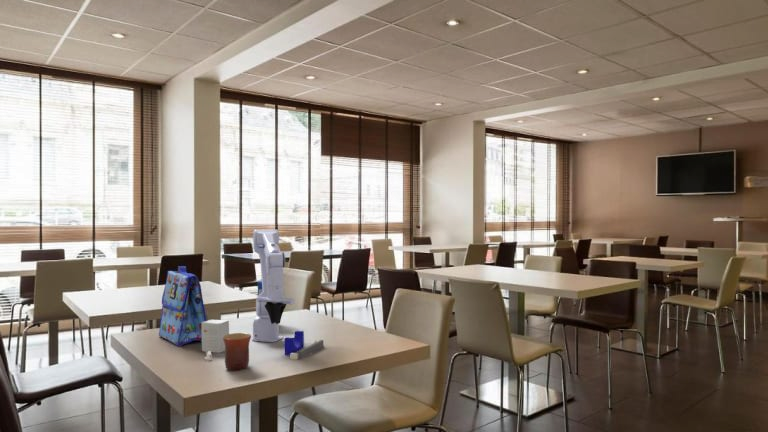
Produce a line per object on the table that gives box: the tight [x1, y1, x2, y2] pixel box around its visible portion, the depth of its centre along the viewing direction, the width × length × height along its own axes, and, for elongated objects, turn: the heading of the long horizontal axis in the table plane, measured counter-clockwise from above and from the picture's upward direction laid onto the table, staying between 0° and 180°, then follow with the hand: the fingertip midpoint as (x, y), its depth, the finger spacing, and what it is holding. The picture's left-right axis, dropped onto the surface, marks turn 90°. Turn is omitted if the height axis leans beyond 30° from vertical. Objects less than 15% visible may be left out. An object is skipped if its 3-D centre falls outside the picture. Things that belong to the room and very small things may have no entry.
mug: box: [223, 332, 252, 372], centre depth 166 cm, size 12×9×10 cm
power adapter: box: [204, 351, 213, 362], centre depth 175 cm, size 3×3×3 cm
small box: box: [201, 319, 230, 354], centre depth 187 cm, size 8×6×10 cm
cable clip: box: [284, 330, 305, 356], centre depth 186 cm, size 12×4×6 cm, turn 170°
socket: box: [289, 339, 325, 361], centre depth 184 cm, size 4×19×2 cm, turn 161°
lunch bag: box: [158, 265, 208, 347], centre depth 205 cm, size 22×14×29 cm, turn 41°
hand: (275, 323), depth 188 cm, fingers closed
